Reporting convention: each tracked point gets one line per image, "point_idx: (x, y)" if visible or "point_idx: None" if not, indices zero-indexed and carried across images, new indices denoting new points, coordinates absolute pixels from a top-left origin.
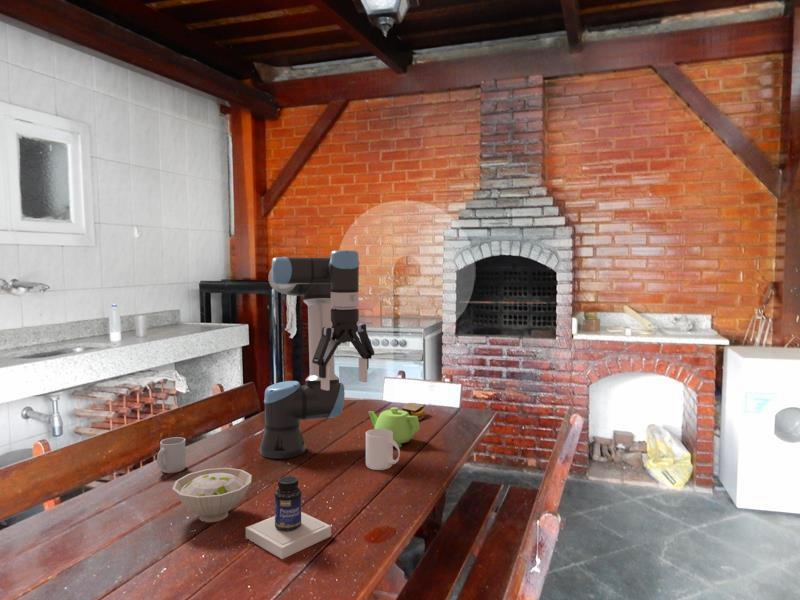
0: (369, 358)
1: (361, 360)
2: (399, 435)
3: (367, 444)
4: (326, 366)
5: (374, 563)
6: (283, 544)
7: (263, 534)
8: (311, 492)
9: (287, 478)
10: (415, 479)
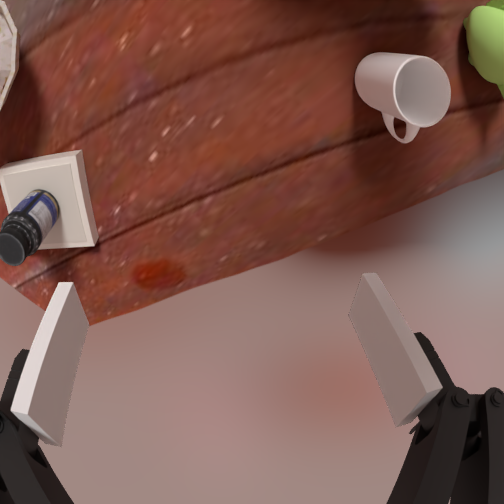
0: (412, 430)
1: (407, 398)
2: (484, 71)
3: (381, 72)
4: (42, 437)
5: (111, 311)
6: None
7: (10, 204)
8: (171, 71)
9: (9, 244)
10: (360, 181)
